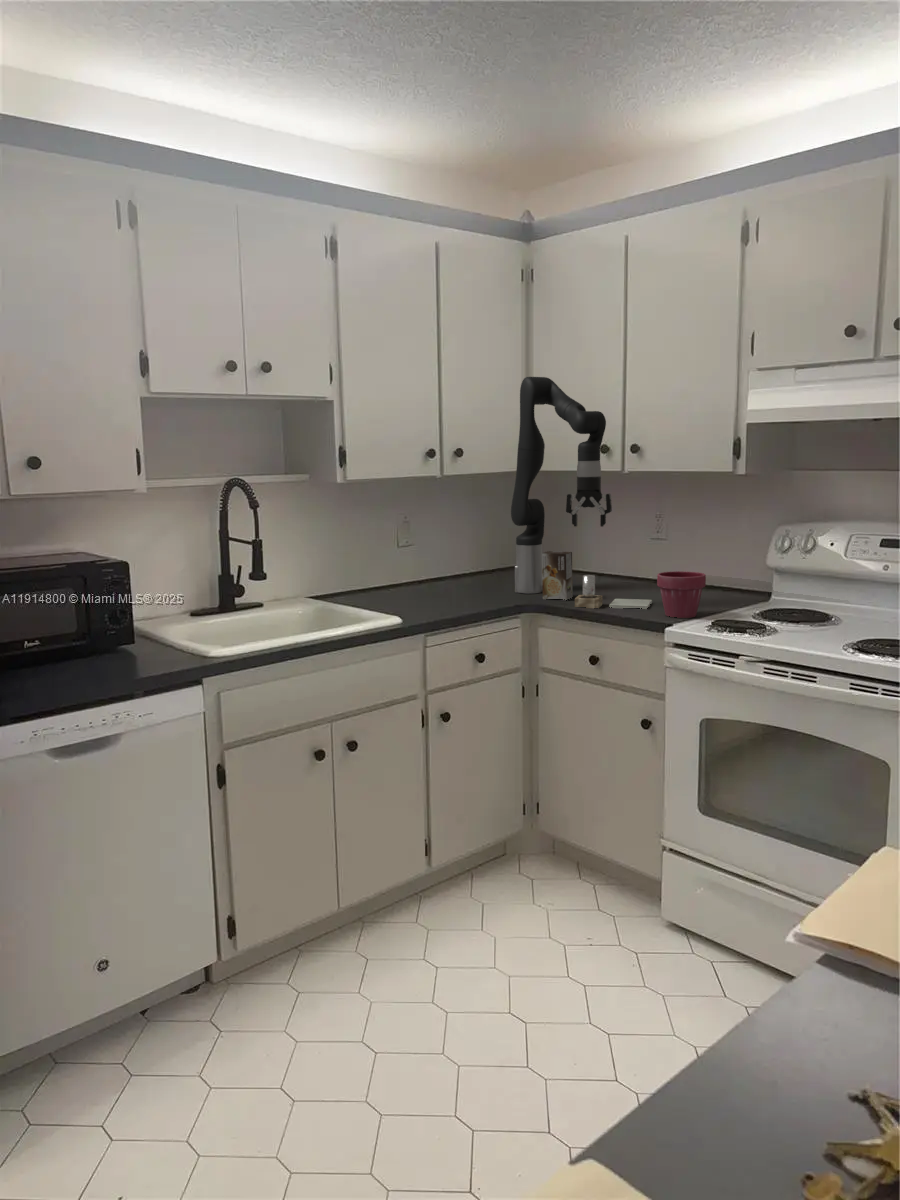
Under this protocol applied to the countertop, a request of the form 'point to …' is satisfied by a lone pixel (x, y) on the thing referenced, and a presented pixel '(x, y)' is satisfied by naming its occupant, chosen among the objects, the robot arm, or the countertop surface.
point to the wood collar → (588, 601)
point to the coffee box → (557, 575)
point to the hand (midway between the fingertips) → (588, 526)
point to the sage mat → (630, 603)
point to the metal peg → (589, 586)
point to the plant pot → (681, 592)
